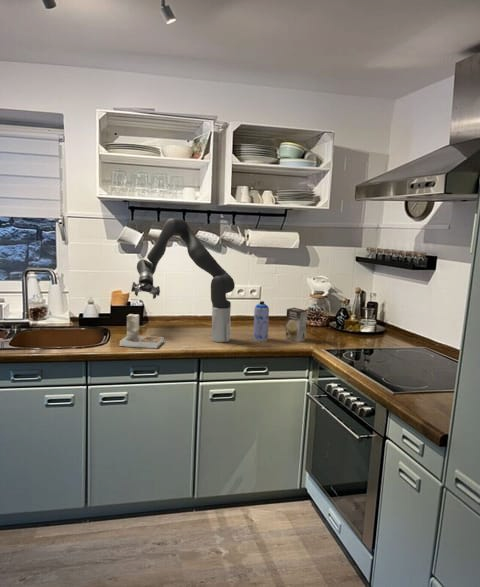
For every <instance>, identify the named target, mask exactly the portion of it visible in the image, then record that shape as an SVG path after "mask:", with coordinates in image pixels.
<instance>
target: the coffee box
mask: <svg viewBox="0 0 480 587" xmlns="http://www.w3.org/2000/svg"><path fill="white" fill-rule="evenodd" d="M307 316H308V310H306V309H302V308H297V307H290V308H286V319H285V335H284V336H285V337H284V339H285V340H290V341H294V342H297V343H298V342H303V341H305V340H306V330H307V329H306V328H307Z"/></svg>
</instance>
